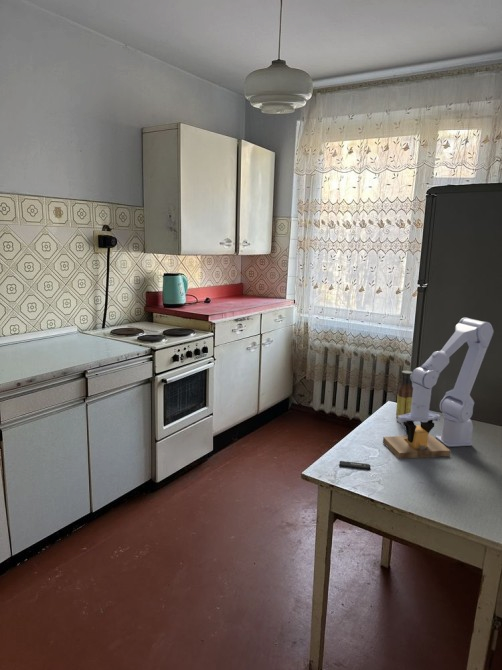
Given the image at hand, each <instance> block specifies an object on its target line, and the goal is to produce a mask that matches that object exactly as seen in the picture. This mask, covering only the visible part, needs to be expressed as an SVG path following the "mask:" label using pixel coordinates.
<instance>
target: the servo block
mask: <svg viewBox="0 0 502 670" xmlns="http://www.w3.org/2000/svg"><path fill="white" fill-rule="evenodd" d="M415 425H416V426H417V427H416V429H415V432H414V438H413V442H412V443H410V442H409V441H408V437H407V443H408V444H410V445H411V446H412V447H413V448H414V449H419V450H425V448H427V440H428V435H429V434H428V432H427V431H426V430H424V429H423V428H422V427H421V425H420V424H419V425H417V424H415Z"/></svg>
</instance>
